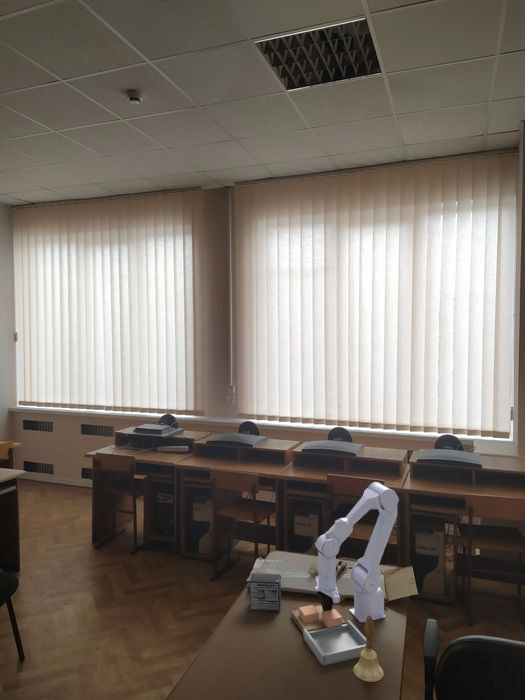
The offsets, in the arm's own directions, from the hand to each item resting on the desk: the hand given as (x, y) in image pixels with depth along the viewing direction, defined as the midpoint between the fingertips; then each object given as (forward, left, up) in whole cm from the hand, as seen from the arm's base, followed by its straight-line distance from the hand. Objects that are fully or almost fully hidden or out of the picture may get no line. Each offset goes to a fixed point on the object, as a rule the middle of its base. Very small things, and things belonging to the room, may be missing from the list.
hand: (327, 613), depth 167 cm
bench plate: (+3, -1, -3) cm, 4 cm away
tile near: (0, +4, -1) cm, 4 cm away
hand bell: (0, +26, -3) cm, 26 cm away
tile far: (+6, -1, -1) cm, 6 cm away
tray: (+3, +13, -3) cm, 13 cm away
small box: (+16, -16, -3) cm, 23 cm away
